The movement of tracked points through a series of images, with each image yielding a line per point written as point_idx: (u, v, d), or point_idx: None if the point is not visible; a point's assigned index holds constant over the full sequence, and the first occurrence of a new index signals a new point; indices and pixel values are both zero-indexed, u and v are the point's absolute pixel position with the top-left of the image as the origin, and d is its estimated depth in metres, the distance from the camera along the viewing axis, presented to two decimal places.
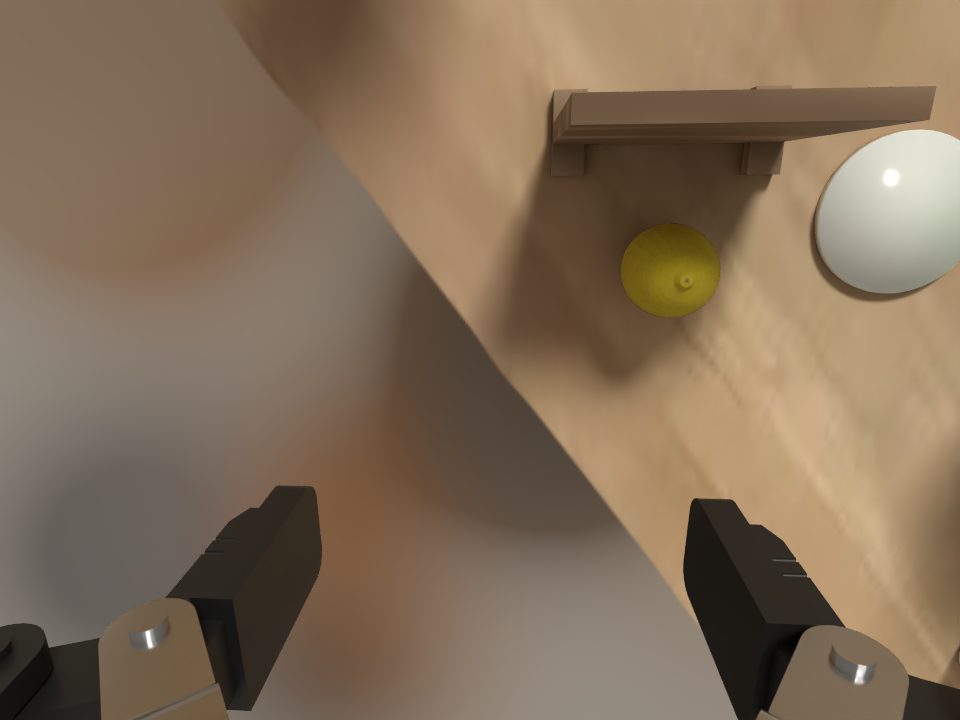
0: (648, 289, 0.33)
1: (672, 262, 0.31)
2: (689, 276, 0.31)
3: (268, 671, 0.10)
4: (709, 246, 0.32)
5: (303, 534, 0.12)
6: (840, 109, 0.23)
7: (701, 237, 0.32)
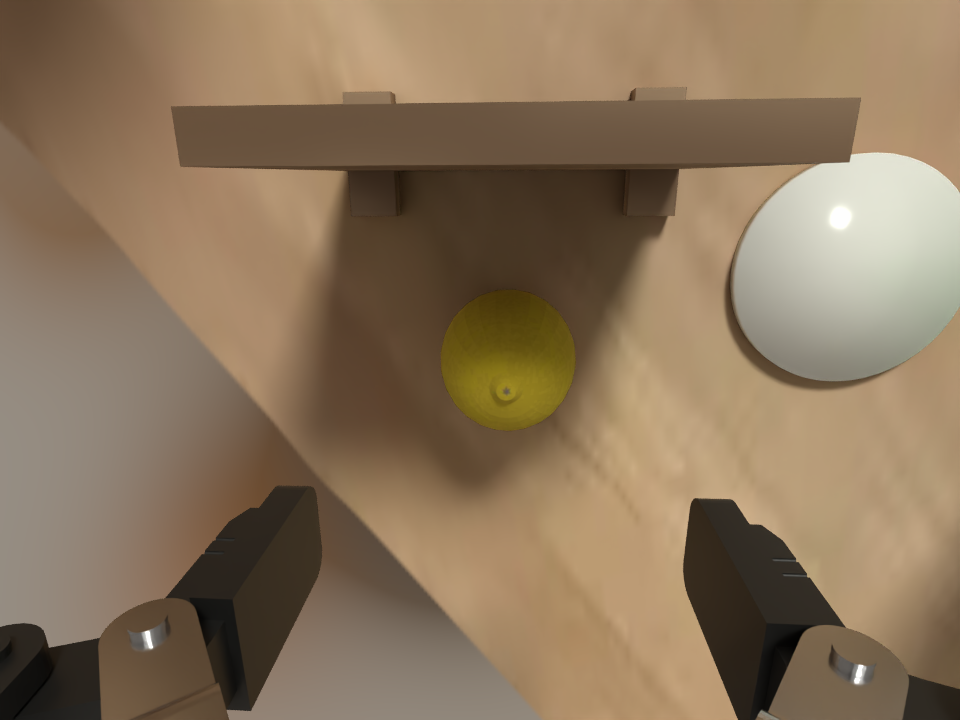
0: (460, 396, 0.22)
1: (487, 361, 0.20)
2: (509, 384, 0.20)
3: (268, 671, 0.10)
4: (550, 333, 0.21)
5: (304, 534, 0.12)
6: (677, 141, 0.12)
7: (540, 318, 0.21)
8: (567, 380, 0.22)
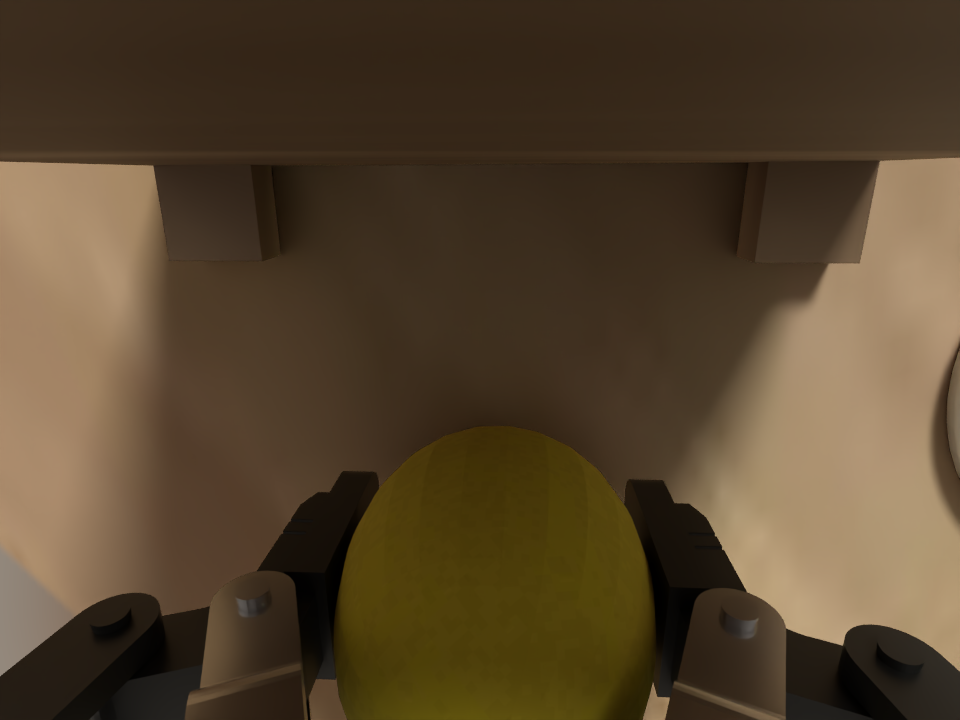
0: None
1: (430, 709, 0.07)
2: None
3: None
4: (605, 599, 0.08)
5: None
6: None
7: (577, 552, 0.08)
8: (646, 704, 0.08)
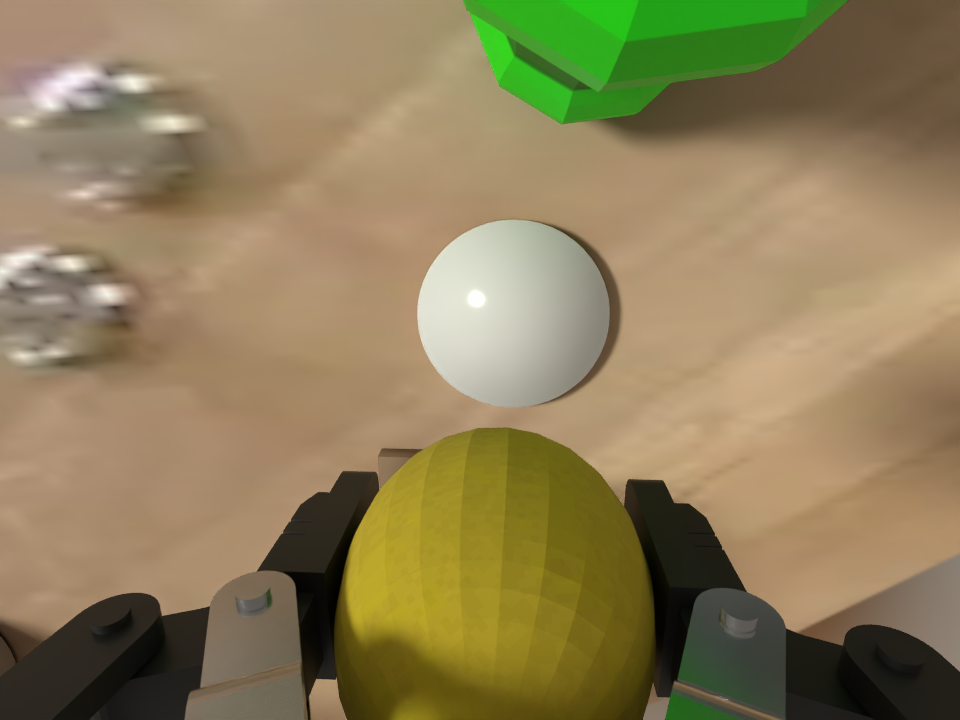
0: None
1: (431, 711, 0.07)
2: None
3: None
4: (605, 601, 0.08)
5: None
6: None
7: (576, 554, 0.08)
8: (646, 705, 0.08)
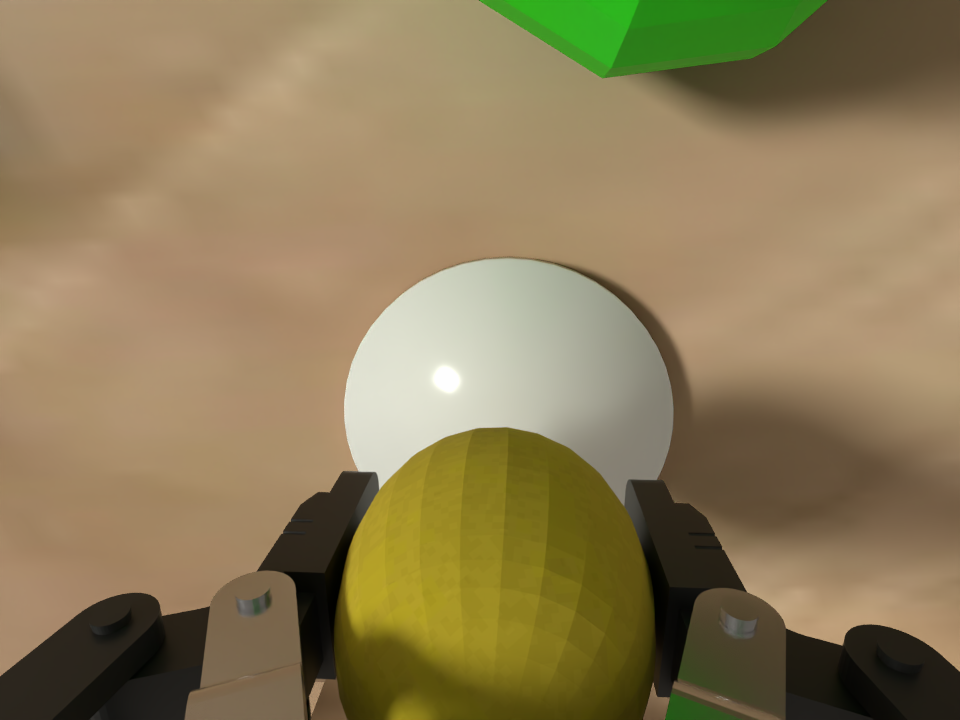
0: None
1: (431, 711, 0.07)
2: None
3: None
4: (605, 601, 0.08)
5: None
6: None
7: (576, 554, 0.08)
8: (646, 705, 0.08)
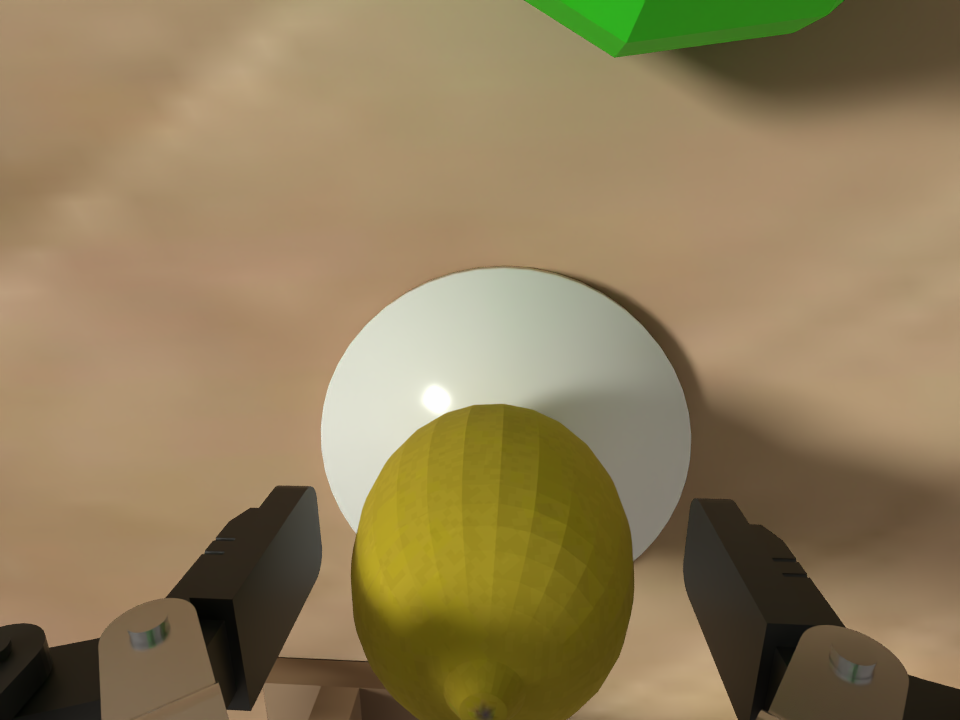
0: (382, 679, 0.09)
1: (438, 628, 0.08)
2: (491, 699, 0.08)
3: (268, 671, 0.10)
4: (587, 539, 0.09)
5: (304, 534, 0.12)
6: None
7: (562, 501, 0.09)
8: (624, 634, 0.10)
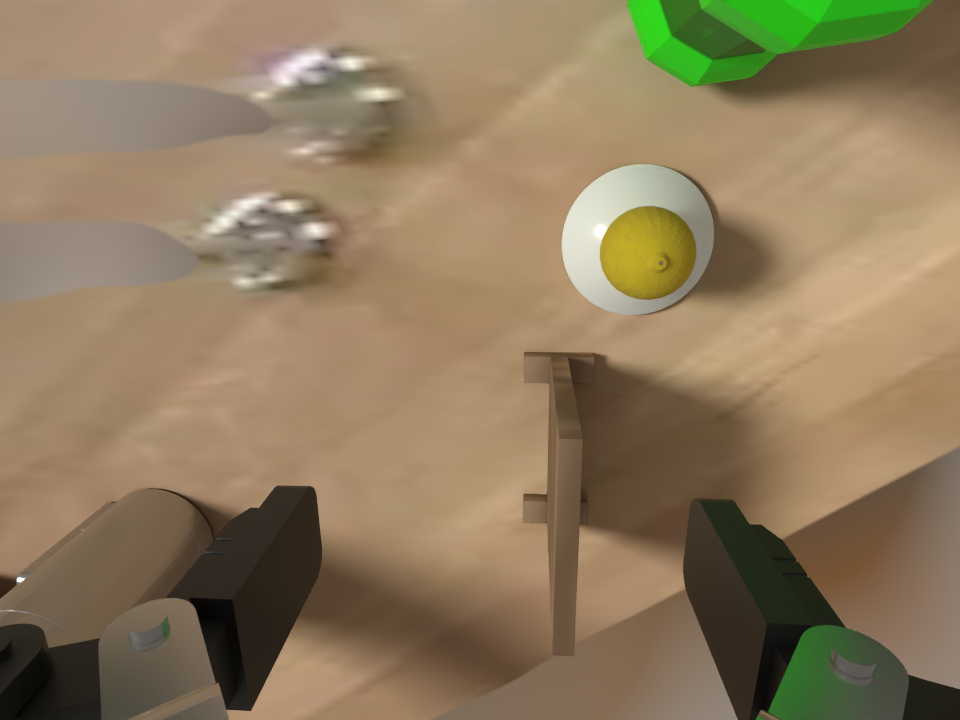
0: (624, 272, 0.33)
1: (646, 245, 0.32)
2: (662, 258, 0.31)
3: (268, 671, 0.10)
4: (684, 228, 0.32)
5: (304, 534, 0.12)
6: (572, 498, 0.30)
7: (676, 219, 0.33)
8: (694, 261, 0.33)
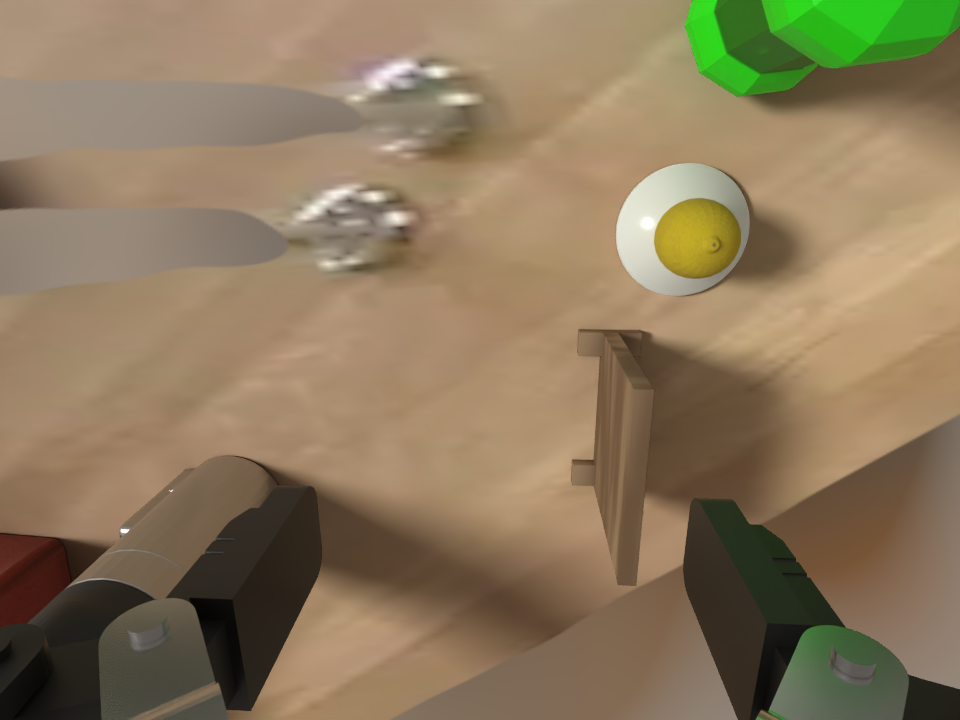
0: (680, 253, 0.38)
1: (701, 230, 0.37)
2: (715, 241, 0.37)
3: (268, 671, 0.10)
4: (732, 216, 0.38)
5: (304, 534, 0.12)
6: (642, 442, 0.35)
7: (725, 209, 0.38)
8: (739, 244, 0.38)
